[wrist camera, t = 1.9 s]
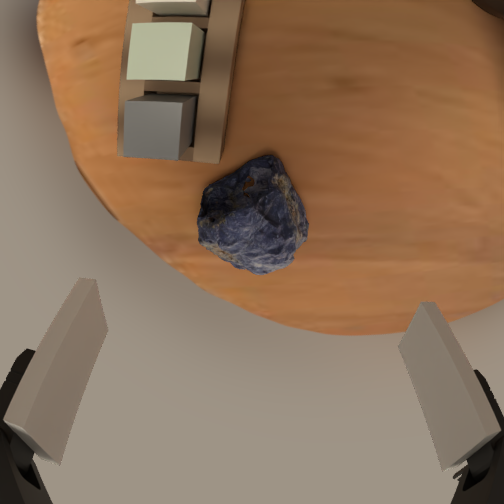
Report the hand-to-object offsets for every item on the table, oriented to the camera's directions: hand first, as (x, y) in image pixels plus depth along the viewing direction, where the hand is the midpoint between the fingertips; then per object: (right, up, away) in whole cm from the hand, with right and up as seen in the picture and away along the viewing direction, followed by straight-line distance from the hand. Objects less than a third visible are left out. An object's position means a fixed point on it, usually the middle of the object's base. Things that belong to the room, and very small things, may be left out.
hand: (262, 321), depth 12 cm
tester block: (-6, +21, +13) cm, 25 cm away
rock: (0, +7, +22) cm, 23 cm away
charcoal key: (-7, +14, +12) cm, 20 cm away
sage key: (-6, +19, +10) cm, 22 cm away
